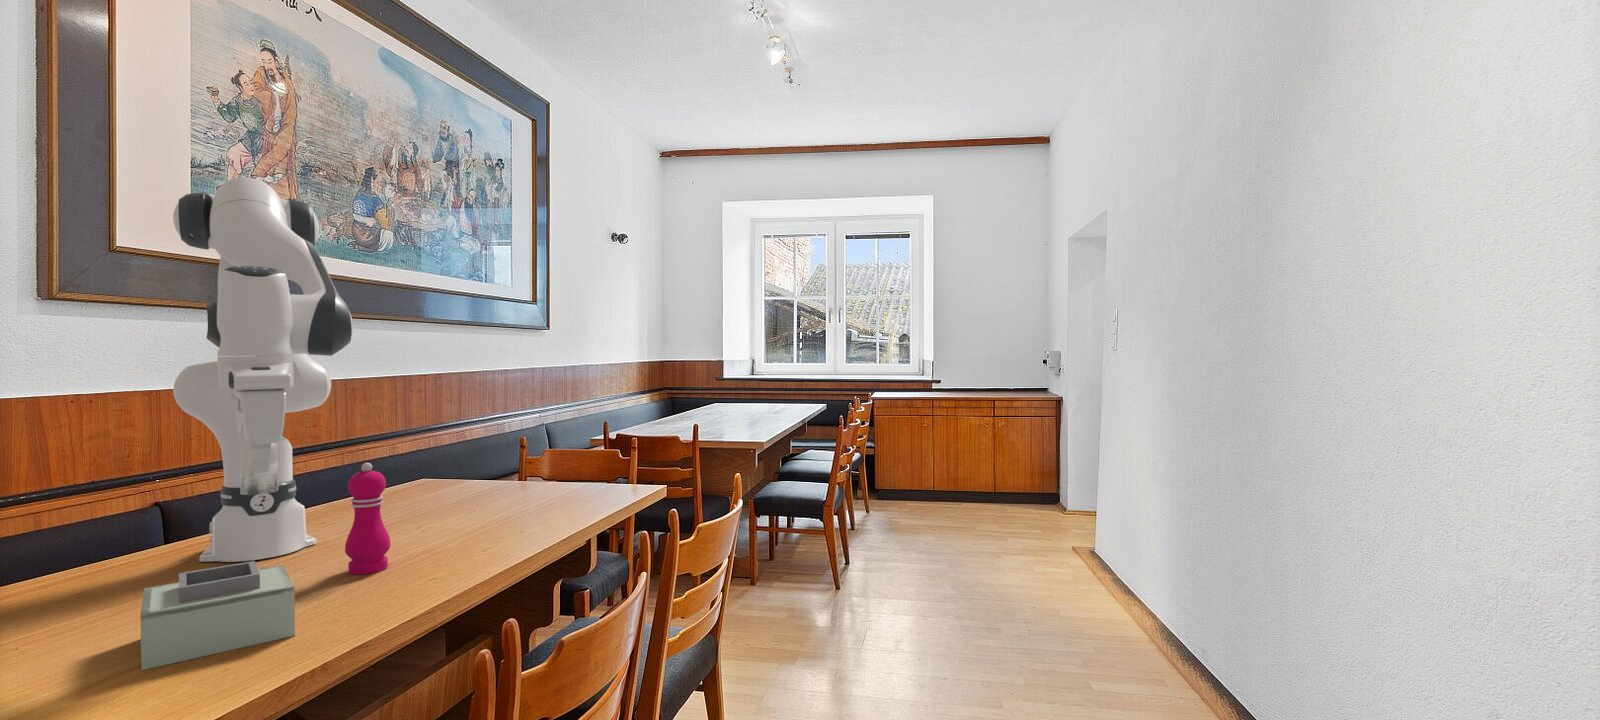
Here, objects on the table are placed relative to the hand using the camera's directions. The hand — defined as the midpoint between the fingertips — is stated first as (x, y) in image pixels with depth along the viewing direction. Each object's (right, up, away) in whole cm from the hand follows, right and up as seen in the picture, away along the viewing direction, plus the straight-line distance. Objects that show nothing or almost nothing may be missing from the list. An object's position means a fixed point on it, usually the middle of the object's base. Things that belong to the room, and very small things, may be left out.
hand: (258, 469), depth 103 cm
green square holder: (-3, -23, -3) cm, 24 cm away
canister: (0, -3, 0) cm, 3 cm away
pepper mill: (-1, -23, +27) cm, 36 cm away
